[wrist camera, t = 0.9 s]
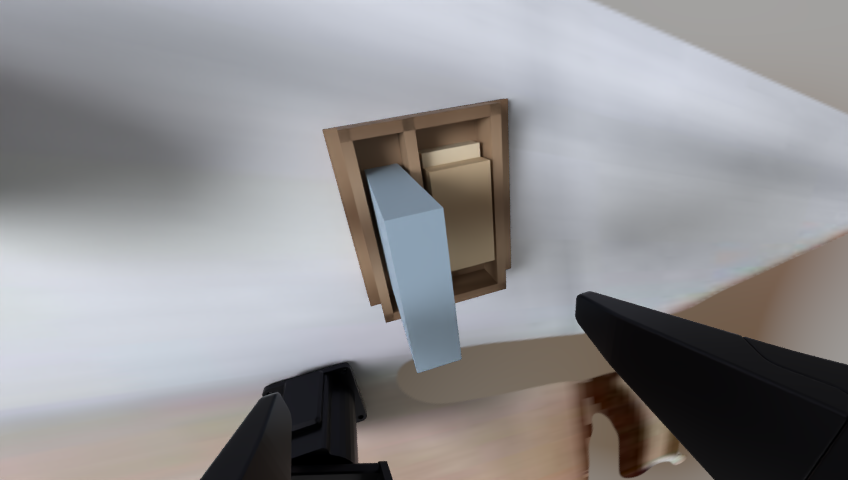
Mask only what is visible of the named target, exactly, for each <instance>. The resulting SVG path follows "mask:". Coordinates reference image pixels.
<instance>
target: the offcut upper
mask: <svg viewBox="0 0 848 480" xmlns="http://www.w3.org/2000/svg"><path fill="white" fill-rule="evenodd" d="M423 169H424V176H425V183H426V190H427V193H429V194H430V195H431V196H432V197H433V198H434V199H435V200H436V201H437V202H438V203H439V204H440V205H441V206H442V207H443V210H444V218H445V226H446V235H447V243H448V251H449V259H450V267H451V271H455V270H459V269H463V268H466V267H470V266H474V265H478V264H482V263H485V262H489V261H493V260H495V256H494V235H493V213H492V192H491V170H490V160H488V159H486V158H483V157H476V158H471V159H466V160H461V161H456V162H451V163H446V164H441V165H436V166H431V167H426V168H423Z"/></svg>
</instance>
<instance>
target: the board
mask: <svg viewBox="0 0 848 480" xmlns="http://www.w3.org/2000/svg"><path fill="white" fill-rule="evenodd" d="M364 171H365V176H366V180H367V184H368V189H369V193H370V198H371V202H372V206H373V211H374V215H375V219H376V224H377V228H378V232H379V237H380V241H381V245H382V250H383V254H384V258H385V263H386V267H387V271H388V275H389V278H390V282H391V285H392V288H393V292H394V295H395V299H396V302H397V306H398V309H399V312H400V316H401V319H402V323H403V326H404V330H405V333H406V336H407V340H408V343H409V347H410V350H411V354H412V357H413V360H414V364H415V367H416V371H417V373H420V372H423V371H426V370H429V369H433V368H436V367H439V366H442V365H445V364H448V363H451V362H455V361H458V360H461V359H462V358H461V349H460V341H459V333H458V325H457V317H456V308H455V300H454V292H453V284H452V276H451V267H450V259H449V251H448V243H447V235H446V226H445V218H444V210H443V207H442V206H441V205H440V204H439V203H438V202H437V201H436V200H435V199H434V198H433V197H432V196H431V195H430V194H429V193H427V192H426V191H425V190H424V189H423V188H422V187H421V186H420V185H419V184H418V183H417V182H416V181H415V180H414V179H413V178H412V177H411V176H410V175H409V174H408V173H407V172H406V171H405V170H404V169H403V168H402V167H401V166H400V165H399V164H397V163H396V164H391V165H386V166H381V167H376V168H371V169H366V170H364Z"/></svg>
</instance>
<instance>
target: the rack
mask: <svg viewBox="0 0 848 480" xmlns="http://www.w3.org/2000/svg"><path fill="white" fill-rule="evenodd" d="M323 134H324V138H325V141H326V145H327V148H328V152H329V156H330V159H331V163H332V167H333V170H334V174H335V178H336V181H337V185H338V188H339V192H340V196H341V199H342V203H343V207H344V210H345V214H346V218H347V221H348V225H349V229H350V232H351V236H352V239H353V243H354V247H355V250H356V254H357V258H358V261H359V265H360V269H361V272H362V276H363V280H364V283H365V287H366V290H367V294H368V298H369V301H370V305H371V306H374V305H378V304H381V305H382V309H383V313H384V317H385V321H386V323H387V322H391V321H394V320H398V319H401V316H400V312H399V309H398V306H397V302H396V299H395V295H394V292H393V288H392V285H391V282H390V278H389V275H388V271H387V267H386V263H385V258H384V254H383V250H382V245H381V241H380V237H379V232H378V228H377V224H376V219H375V215H374V211H373V206H372V202H371V198H370V193H369V189H368V184H367V180H366V176H365V171H364V170H366V169H371V168H376V167H381V166H386V165H391V164H396V163H397V164H399V165H400V166H401V167H402V168H403V169H404V170H405V171H406V172H407V173H408V174H409V175H410V176H411V177H412V178H413V179H414V180H415V181H416V182H417V183H418V184H419V185H420V186H421V187H422V188H423V189H424V187H423V180H422V174H421V167H420V160H419V153H418V150H424V149H429V148H434V147H439V146H444V145H450V144H455V143H460V142H465V141H475V142H479V144H480V157H483V158H486V159H488V160H490V170H491V192H492V213H493V235H494V256H495V260H493V261H489V262H485V263H482V264H478V265H474V266H470V267H466V268H463V269H459V270H455V271H451V276H452V284H453V292H454V300H455V303H457V302H461V301H464V300H468V299H471V298H475V297H478V296H482V295H485V294H489V293H492V292H496V291H499V290H503V289H506V269H509V268H511V239H510V189H509V138H508V99H499V100H493V101H487V102H482V103H476V104H470V105H464V106H458V107H452V108H446V109H440V110H434V111H429V112H423V113H417V114H411V115H405V116H399V117H393V118H387V119H381V120H376V121H370V122H364V123H358V124H352V125H346V126H340V127H334V128H328V129H323Z"/></svg>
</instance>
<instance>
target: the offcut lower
mask: <svg viewBox="0 0 848 480" xmlns="http://www.w3.org/2000/svg"><path fill="white" fill-rule="evenodd" d="M418 153H419V160H420V167H421V174H422V180H423V187H424V190H425V191H426V192H427V190H426V183H425V176H424V169H423V168H426V167H431V166H436V165H441V164H446V163H451V162H456V161H461V160H466V159H471V158H476V157H480V144H479V142H475V141H465V142H460V143H455V144H450V145H444V146H439V147H434V148H429V149H424V150H418Z"/></svg>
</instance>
